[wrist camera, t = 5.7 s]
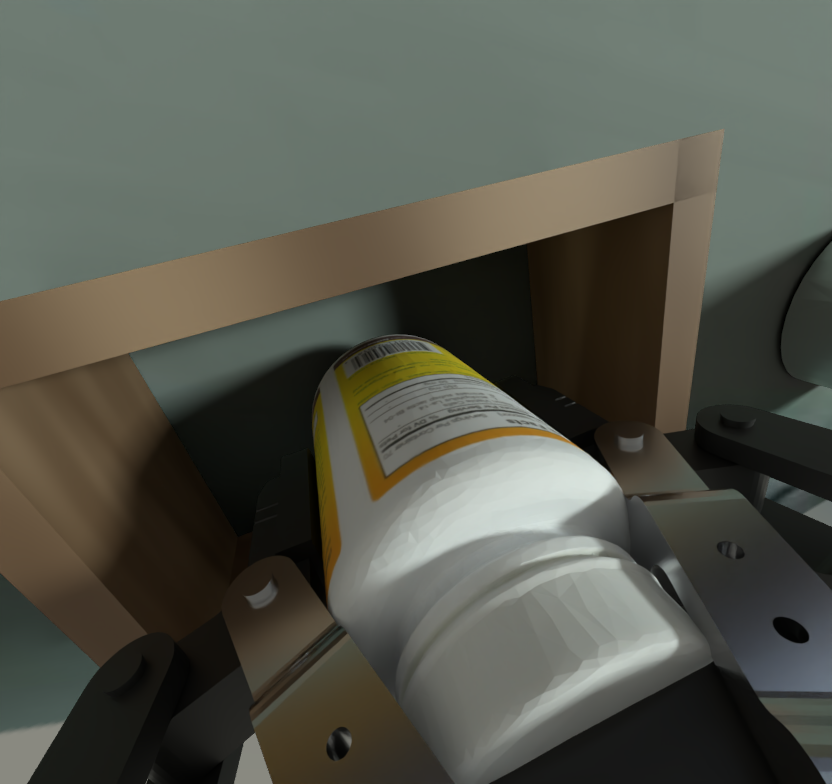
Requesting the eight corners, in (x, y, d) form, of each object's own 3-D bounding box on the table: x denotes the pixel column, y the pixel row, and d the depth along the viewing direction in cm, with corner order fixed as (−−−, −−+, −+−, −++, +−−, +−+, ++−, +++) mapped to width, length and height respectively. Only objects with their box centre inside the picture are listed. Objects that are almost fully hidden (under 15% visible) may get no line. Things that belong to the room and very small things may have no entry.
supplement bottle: (397, 495, 15) (555, 906, 6) (275, 424, 12) (212, 954, 3) (492, 390, 14) (835, 661, 5) (384, 292, 12) (686, 486, 3)
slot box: (551, 171, 13) (724, 128, 8) (563, 435, 18) (674, 516, 13) (39, 294, 10) (-230, 356, 5) (220, 568, 15) (182, 744, 10)
